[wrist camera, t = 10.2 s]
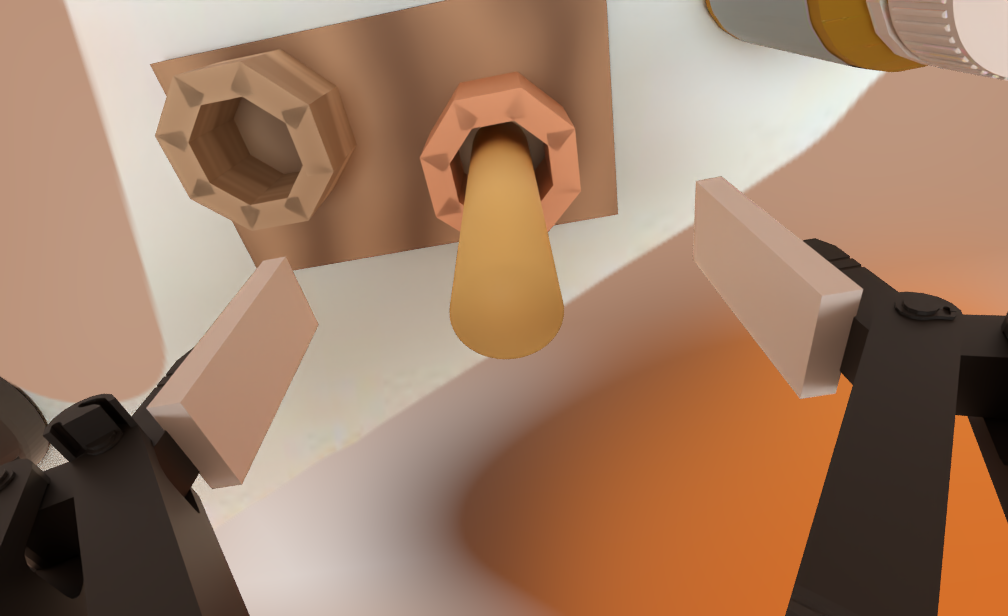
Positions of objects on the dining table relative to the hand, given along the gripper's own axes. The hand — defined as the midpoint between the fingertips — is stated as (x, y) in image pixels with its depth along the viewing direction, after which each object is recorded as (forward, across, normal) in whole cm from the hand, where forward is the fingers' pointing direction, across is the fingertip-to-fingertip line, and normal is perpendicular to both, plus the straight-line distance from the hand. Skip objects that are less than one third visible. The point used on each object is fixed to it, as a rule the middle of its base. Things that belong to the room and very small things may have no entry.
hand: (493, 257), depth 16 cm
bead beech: (+13, -10, +3) cm, 17 cm away
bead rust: (+12, +1, 0) cm, 13 cm away
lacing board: (+14, -4, +1) cm, 14 cm away
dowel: (+12, +1, 0) cm, 13 cm away
